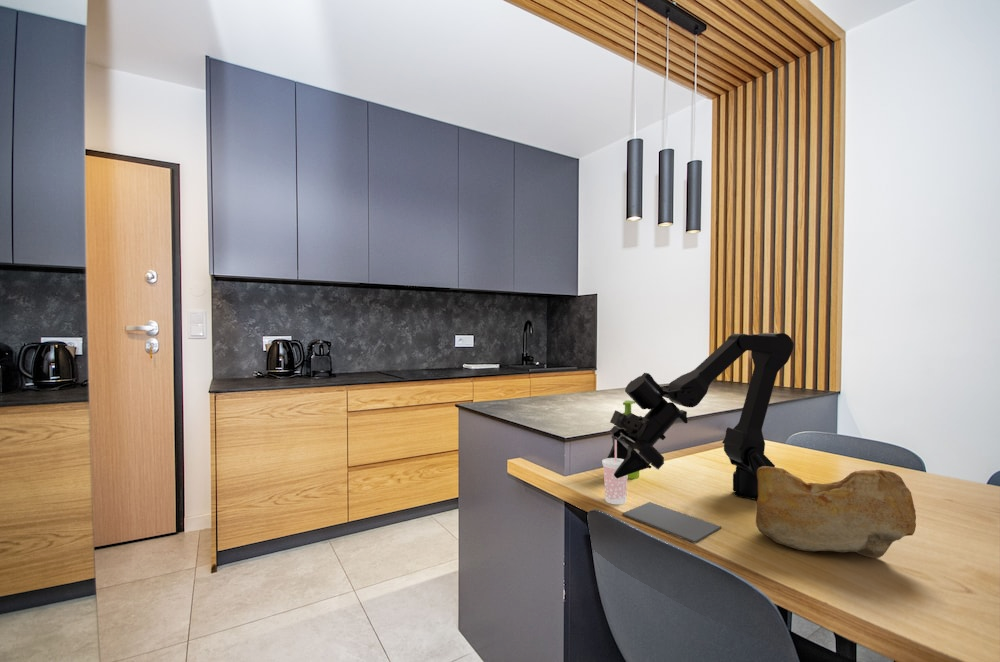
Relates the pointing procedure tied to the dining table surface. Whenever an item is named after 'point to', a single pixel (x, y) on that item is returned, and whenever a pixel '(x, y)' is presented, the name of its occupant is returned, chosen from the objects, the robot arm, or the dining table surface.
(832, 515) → the rough brown rock
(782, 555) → the dining table surface
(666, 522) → the mat
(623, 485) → the beverage cup
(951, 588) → the dining table surface
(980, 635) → the dining table surface
